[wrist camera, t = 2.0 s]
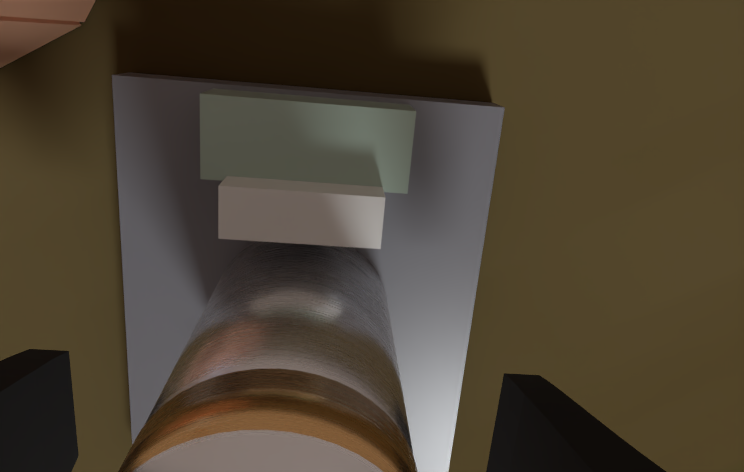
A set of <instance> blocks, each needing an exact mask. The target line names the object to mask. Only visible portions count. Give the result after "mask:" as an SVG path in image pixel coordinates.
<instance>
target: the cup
mask: <svg viewBox="0 0 744 472" xmlns="http://www.w3.org/2000/svg"><path fill="white" fill-rule="evenodd" d="M95 1H96V0H0V68H1V67H3V66H5V65H7V64H9V63H11V62H13V61H15V60H17V59H18V58H20V57H22V56H24V55H26V54H28V53H30V52H32V51H34V50H36V49H37V48H39V47H41V46H43V45H45V44H47V43H49V42H51V41H53V40H54V39H56V38H58V37H60V36H62V35H64V34H66V33H68V32H70V31H72V30H73V29H75V28H77V27H79V26H81V24H80V22H85V20H86V18H87V16H88V14H89V12H90V10H91V9H92V7H93V5H94V3H95Z"/></svg>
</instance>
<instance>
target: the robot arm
mask: <svg viewBox="0 0 744 472" xmlns="http://www.w3.org/2000/svg"><path fill="white" fill-rule="evenodd" d="M77 458H78V446H77V435H76V424H75V414H74V403H73V392H72V381H71V371H70V360H69V351H57V350H37V349H29V350H26V351H24V352H21V353H18V354H16V355H13V356H11V357H9V358H6V359H4V360H2V361H0V472H71V471H72V469H73V467H74V464H75V462H76V460H77ZM486 472H666V471H665V470H663V469H662V468H660V467H659V466H658V465H656V464H655V463H654V462H652V461H651V460H649V459H648V458H647V457H645V456H644V455H643V454H641V453H640V452H639V451H637V450H636V449H635V448H633V447H632V446H631V445H629V444H628V443H627V442H625V441H624V440H623V439H622V438H620V437H619V436H618V435H616V434H615V433H614V432H613V431H611V430H610V429H609V428H607V427H606V426H605V425H604V424H602V423H601V422H600V421H599V420H597V419H596V418H595V417H593V416H592V415H591V414H590V413H588V412H587V411H586V410H585V409H583V408H582V407H581V406H580V405H578V404H577V403H576V402H575V401H573V400H572V399H571V398H569V397H568V396H567V395H566V394H564V393H563V392H562V391H560V390H559V389H558V388H557V387H555V386H554V385H552V384H551V383H550V382H548V381H547V380H545V379H544V378H542V377H541V376H539V375H522V374H504V377H503V383H502V388H501V394H500V399H499V405H498V410H497V416H496V421H495V427H494V432H493V438H492V443H491V449H490V454H489V460H488V465H487V471H486Z"/></svg>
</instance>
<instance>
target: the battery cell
mask: <svg viewBox="0 0 744 472" xmlns="http://www.w3.org/2000/svg"><path fill="white" fill-rule="evenodd" d="M119 472H418V471H417V467H416V463H415V460H414V456H413V450H412V444H411V438H410V432H409V426H408V420H407V415H406V409H405V403H404V397H403V391H402V385H401V379H400V373H399V367H398V362H397V356H396V350H395V344H394V338H393V332H392V326H391V320H390V314H389V309H388V303H387V297H386V293H385V289H384V286H383V284H382V281H381V279H380V277H379V275H378V273H377V272H376V270H375V268H374V267H373V266H372V265H371V263H370V262H369V261H368V260H367V259H366V258H365V257H364V256H363V255H362V254H361V253H360V252H359V251H357V250H356V249H355V248H353V247H341V246H325V245H310V244H294V243H278V242H263V241H256V242H254V243H252V244H251V245H249V246H248V247H246V248H245V249H244V250H242V251H241V252H240V253H239V254H238V255H237V256H236V257H235V258H234V259H233V260H232V261H231V262H230V264H229V265H228V266H227V268H226V269H225V271H224V273H223V274H222V276H221V278H220V280H219V282H218V284H217V286H216V288H215V290H214V292H213V293H212V295H211V297H210V299H209V301H208V303H207V305H206V307H205V309H204V311H203V313H202V315H201V317H200V319H199V321H198V322H197V324H196V326H195V328H194V330H193V332H192V334H191V336H190V338H189V340H188V342H187V344H186V346H185V348H184V350H183V351H182V353H181V355H180V357H179V359H178V361H177V363H176V365H175V367H174V369H173V371H172V373H171V375H170V377H169V379H168V380H167V382H166V384H165V386H164V388H163V390H162V392H161V394H160V396H159V398H158V400H157V402H156V404H155V406H154V407H153V409H152V411H151V413H150V415H149V417H148V419H147V421H146V423H145V425H144V426H143V428H142V429H141V431H140V432H139V434H138V436H137V438H136V439H135V441H134V443H133V445H132V447H131V449H130V450H129V452H128V454H127V456H126V458H125V460H124V462H123V464H122V466H121V468H120V470H119Z"/></svg>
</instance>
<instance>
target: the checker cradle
mask: <svg viewBox="0 0 744 472" xmlns="http://www.w3.org/2000/svg"><path fill="white" fill-rule="evenodd" d="M112 87H113V105H114V123H115V141H116V160H117V178H118V196H119V214H120V232H121V250H122V268H123V286H124V304H125V323H126V341H127V359H128V377H129V395H130V413H131V431H132V445H133V443H134V441H135V439H136V438H137V436H138V434H139V432H140V431H141V429H142V428H143V426H144V425H145V423H146V421H147V419H148V417H149V415H150V413H151V411H152V409H153V407H154V406H155V404H156V402H157V400H158V398H159V396H160V394H161V392H162V390H163V388H164V386H165V384H166V382H167V380H168V379H169V377H170V375H171V373H172V371H173V369H174V367H175V365H176V363H177V361H178V359H179V357H180V355H181V353H182V351H183V350H184V348H185V346H186V344H187V342H188V340H189V338H190V336H191V334H192V332H193V330H194V328H195V326H196V324H197V322H198V321H199V319H200V317H201V315H202V313H203V311H204V309H205V307H206V305H207V303H208V301H209V299H210V297H211V295H212V293H213V292H214V290H215V288H216V286H217V284H218V282H219V280H220V278H221V276H222V274H223V273H224V271H225V269H226V268H227V266H228V265H229V264H230V262H231V261H232V260H233V259H234V258H235V257H236V256H237V255H238V254H239V253H240V252H241V251H242V250H244V249H245V248H246V247H248V246H249V245H251V244H252V243H254V242H256V241H263V242H278V243H294V244H310V245H325V246H341V247H353V248H355V249H356V250H357V251H359V252H360V253H361V254H362V255H363V256H364V257H365V258H366V259H367V260H368V261H369V262H370V263H371V265H372V266H373V267H374V268H375V270H376V272H377V273H378V275H379V277H380V279H381V281H382V284H383V286H384V289H385V293H386V297H387V303H388V309H389V314H390V320H391V326H392V332H393V338H394V344H395V350H396V356H397V362H398V367H399V373H400V379H401V385H402V391H403V397H404V403H405V409H406V415H407V420H408V426H409V432H410V438H411V444H412V450H413V456H414V460H415V463H416V467H417V471H418V472H448V470H449V464H450V458H451V451H452V445H453V438H454V432H455V425H456V419H457V412H458V406H459V399H460V393H461V386H462V380H463V373H464V367H465V360H466V354H467V347H468V341H469V335H470V328H471V322H472V315H473V309H474V302H475V296H476V289H477V283H478V276H479V270H480V263H481V257H482V250H483V244H484V237H485V231H486V224H487V218H488V212H489V205H490V199H491V192H492V186H493V179H494V173H495V166H496V160H497V153H498V147H499V140H500V134H501V127H502V121H503V114H504V107H502V106H500V105H497V104H495V103H490V102H478V101H466V100H454V99H442V98H430V97H418V96H406V95H394V94H382V93H370V92H358V91H346V90H334V89H322V88H310V87H298V86H286V85H274V84H262V83H250V82H238V81H226V80H215V79H203V78H191V77H179V76H167V75H155V74H143V73H131V72H129V73H122V74H115V75H112Z"/></svg>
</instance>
